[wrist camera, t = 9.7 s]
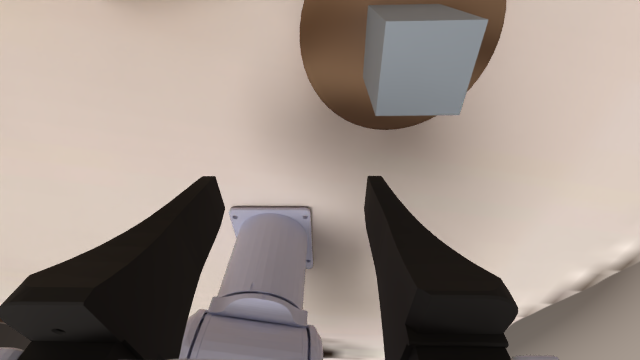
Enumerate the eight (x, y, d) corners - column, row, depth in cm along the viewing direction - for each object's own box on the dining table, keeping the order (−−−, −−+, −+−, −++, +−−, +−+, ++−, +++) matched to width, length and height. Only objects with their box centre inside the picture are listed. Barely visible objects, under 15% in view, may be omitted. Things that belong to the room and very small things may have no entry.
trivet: (460, 120, 21) (468, 129, 20) (305, 121, 22) (304, 130, 21) (528, -97, 14) (547, -103, 13) (294, -91, 14) (292, -96, 13)
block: (424, 76, 18) (459, 115, 13) (362, 77, 18) (375, 116, 13) (439, 3, 16) (488, 19, 11) (367, 5, 16) (385, 21, 11)
